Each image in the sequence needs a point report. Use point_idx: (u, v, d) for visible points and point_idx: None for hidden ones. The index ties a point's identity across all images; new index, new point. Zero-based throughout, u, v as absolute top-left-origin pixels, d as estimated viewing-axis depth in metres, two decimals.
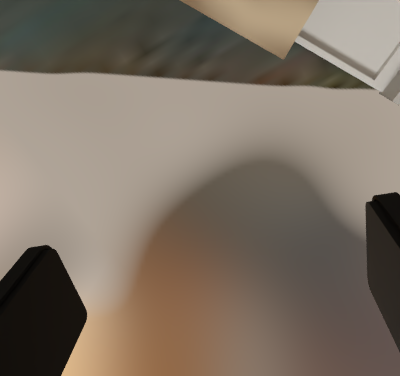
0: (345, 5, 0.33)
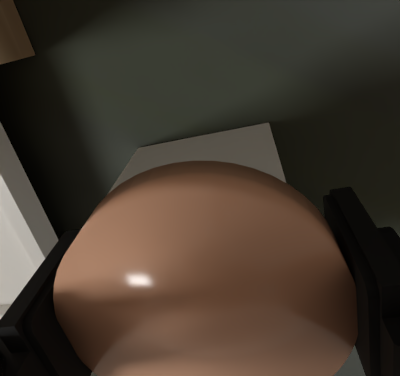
0: None
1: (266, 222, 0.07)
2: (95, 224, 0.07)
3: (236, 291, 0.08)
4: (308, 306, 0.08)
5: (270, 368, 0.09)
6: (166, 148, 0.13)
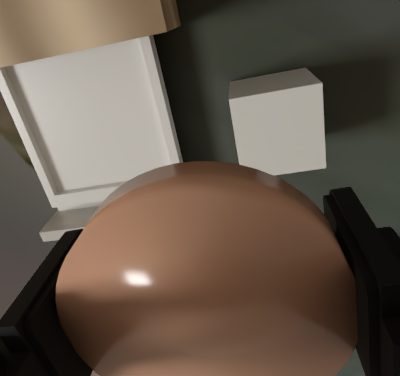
0: (78, 100, 0.24)
1: (268, 222, 0.07)
2: (97, 225, 0.07)
3: (238, 292, 0.08)
4: (310, 306, 0.08)
5: (272, 368, 0.09)
6: (248, 80, 0.23)
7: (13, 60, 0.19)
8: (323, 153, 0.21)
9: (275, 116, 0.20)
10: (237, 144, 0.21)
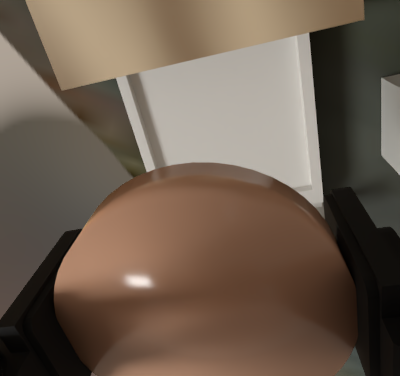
0: (208, 104, 0.21)
1: (266, 224, 0.07)
2: (95, 227, 0.07)
3: (236, 294, 0.08)
4: (308, 308, 0.08)
5: (270, 369, 0.09)
6: None
7: (165, 60, 0.16)
8: None
9: None
10: None
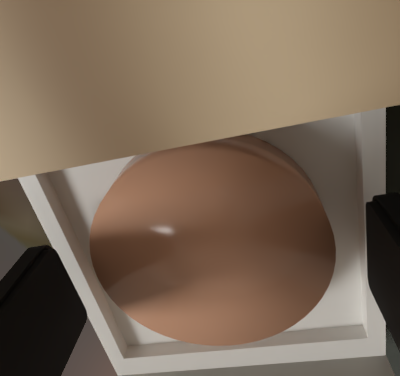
0: None
1: (260, 173, 0.09)
2: (126, 176, 0.09)
3: (236, 233, 0.10)
4: (294, 244, 0.10)
5: (264, 301, 0.11)
6: None
7: (67, 156, 0.07)
8: None
9: None
10: None
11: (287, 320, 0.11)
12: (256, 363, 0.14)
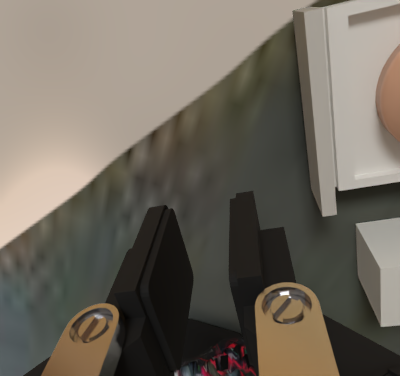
0: None
1: None
2: None
3: None
4: None
5: None
6: None
7: None
8: (396, 324, 0.23)
9: None
10: None
11: None
12: (335, 118, 0.20)
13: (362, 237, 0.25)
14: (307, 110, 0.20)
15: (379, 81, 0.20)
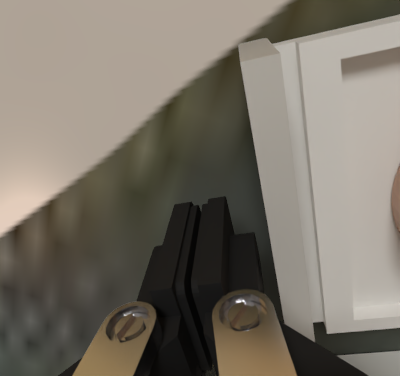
0: None
1: None
2: None
3: None
4: None
5: None
6: None
7: None
8: None
9: None
10: None
11: None
12: (320, 232, 0.12)
13: None
14: None
15: None
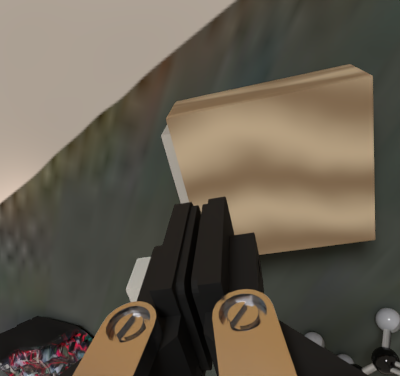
0: None
1: None
2: None
3: None
4: None
5: None
6: None
7: (185, 180, 0.30)
8: None
9: None
10: None
11: None
12: None
13: (134, 268, 0.39)
14: None
15: None
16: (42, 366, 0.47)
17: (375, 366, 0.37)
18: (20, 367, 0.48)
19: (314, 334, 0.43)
